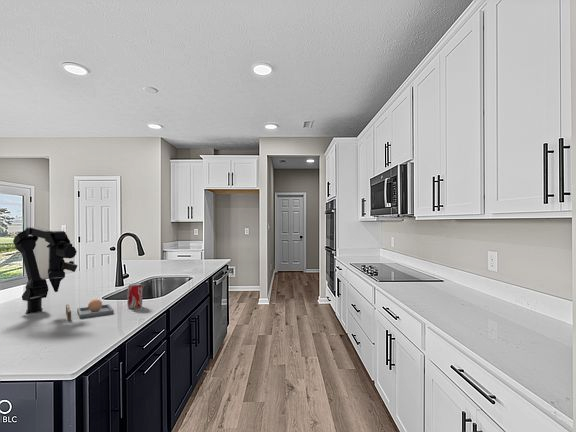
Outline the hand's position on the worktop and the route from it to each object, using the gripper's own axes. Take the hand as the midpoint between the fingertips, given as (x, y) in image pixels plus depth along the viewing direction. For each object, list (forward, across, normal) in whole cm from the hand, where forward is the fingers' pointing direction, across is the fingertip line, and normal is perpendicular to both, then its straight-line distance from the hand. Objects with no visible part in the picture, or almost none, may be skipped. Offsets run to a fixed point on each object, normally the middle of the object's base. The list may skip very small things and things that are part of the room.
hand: (55, 290), depth 160 cm
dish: (+12, -6, -16) cm, 21 cm away
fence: (+12, -6, -5) cm, 14 cm away
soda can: (+12, -6, -34) cm, 36 cm away
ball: (+8, -6, -16) cm, 19 cm away
